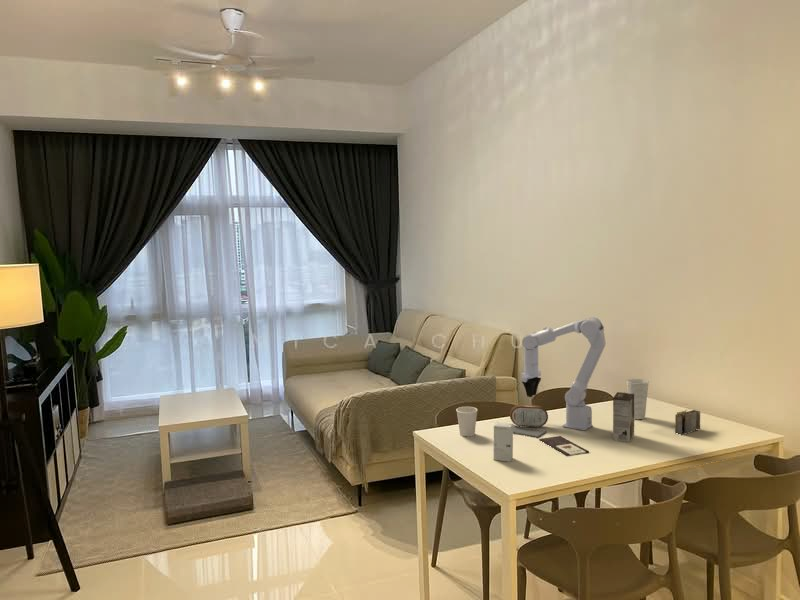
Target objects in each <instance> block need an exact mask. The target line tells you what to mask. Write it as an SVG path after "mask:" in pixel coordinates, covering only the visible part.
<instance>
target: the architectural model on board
mask: <svg viewBox="0 0 800 600" xmlns="http://www.w3.org/2000/svg"><path fill="white" fill-rule="evenodd" d="M674 415H675V420H674V421H675V425H674V427H675V429H674V430H675V431H674V433H675V434H676V433H678V434H677V435H679V434H682V435H683V434H684V433H687V434H689V433H688V432H690V433H692V432H691V431H694V432H696V431H695V430H696V429H700V430H701V411H700V410H696V409H693V410H689V411H688V410H683V411H678V412H676V414H674ZM682 431H683V432H684V433H683V432H682Z"/></svg>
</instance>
